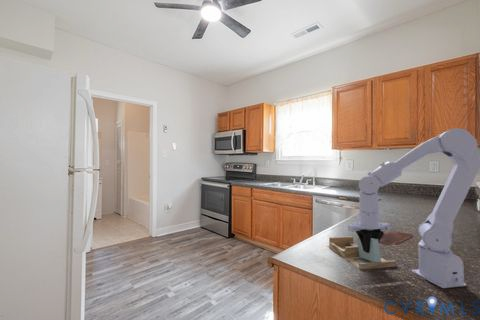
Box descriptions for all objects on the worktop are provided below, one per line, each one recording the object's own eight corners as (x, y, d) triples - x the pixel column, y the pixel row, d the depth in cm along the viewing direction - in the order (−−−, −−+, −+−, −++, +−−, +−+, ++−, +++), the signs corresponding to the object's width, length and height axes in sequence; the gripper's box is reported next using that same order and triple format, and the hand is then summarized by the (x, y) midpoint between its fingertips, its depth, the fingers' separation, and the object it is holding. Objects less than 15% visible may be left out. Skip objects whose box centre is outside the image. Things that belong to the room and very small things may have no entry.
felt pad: (387, 265, 72) (387, 264, 72) (365, 267, 71) (365, 266, 71) (373, 257, 78) (373, 256, 78) (353, 259, 77) (353, 258, 77)
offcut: (360, 249, 85) (360, 245, 85) (353, 250, 85) (353, 246, 85) (354, 246, 88) (354, 242, 88) (347, 246, 88) (347, 242, 88)
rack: (396, 267, 71) (396, 255, 71) (360, 271, 69) (360, 258, 69) (355, 245, 91) (355, 235, 91) (326, 247, 89) (326, 237, 89)
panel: (381, 261, 70) (377, 239, 72) (376, 262, 70) (372, 239, 72) (364, 256, 78) (361, 236, 80) (359, 257, 78) (356, 236, 79)
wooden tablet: (393, 228, 110) (417, 231, 102) (394, 233, 110) (418, 236, 101) (363, 238, 97) (387, 242, 88) (364, 243, 97) (388, 248, 88)
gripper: (378, 208, 80) (379, 245, 79) (342, 209, 77) (342, 248, 77) (395, 212, 73) (395, 253, 72) (355, 214, 70) (356, 256, 70)
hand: (369, 251), depth 74 cm, fingers closed on panel, 2 cm apart
